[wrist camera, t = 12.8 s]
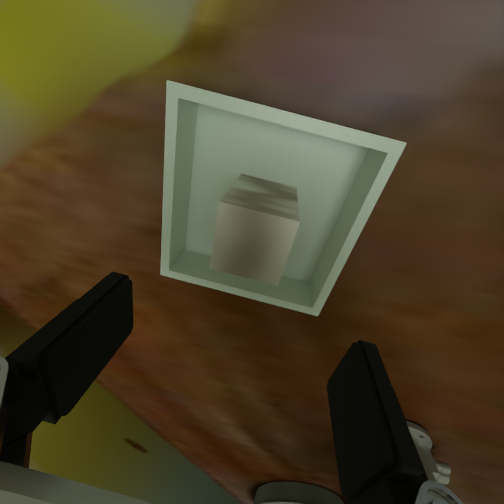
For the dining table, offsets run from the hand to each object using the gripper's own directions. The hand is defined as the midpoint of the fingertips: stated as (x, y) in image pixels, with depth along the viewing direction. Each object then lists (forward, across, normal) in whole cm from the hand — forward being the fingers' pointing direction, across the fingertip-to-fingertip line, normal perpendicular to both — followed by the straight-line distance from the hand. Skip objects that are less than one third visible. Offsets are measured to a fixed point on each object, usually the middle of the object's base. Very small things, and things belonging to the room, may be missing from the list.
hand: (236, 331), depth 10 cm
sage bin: (+16, +1, -1) cm, 16 cm away
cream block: (+15, +1, -1) cm, 15 cm away
